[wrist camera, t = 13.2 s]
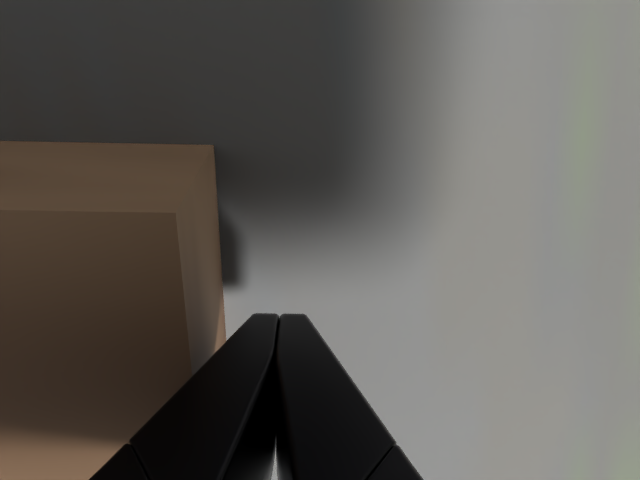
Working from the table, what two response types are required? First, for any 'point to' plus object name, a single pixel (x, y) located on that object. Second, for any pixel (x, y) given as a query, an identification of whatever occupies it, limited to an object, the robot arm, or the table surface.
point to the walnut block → (101, 295)
